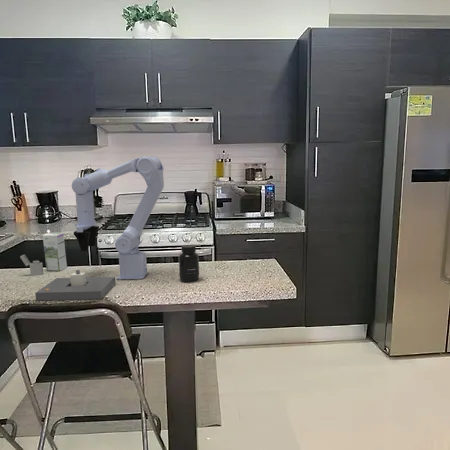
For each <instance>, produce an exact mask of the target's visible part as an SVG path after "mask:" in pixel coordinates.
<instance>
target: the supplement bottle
mask: <svg viewBox="0 0 450 450" xmlns="http://www.w3.org/2000/svg"><path fill="white" fill-rule="evenodd" d="M196 247H197V246H196V245H194V244H184V245H182V246H181V253H180V254H179V256H178V269H179V271H178V272H179V275H178V276H179V281H180V282H183V283H194V281H195V282H198V281H199V280H200V259H199V257H200V255H199V254H198V253H197V250H196V249H197V248H196ZM197 280H198V281H197Z"/></svg>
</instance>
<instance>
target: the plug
mask: <svg viewBox="0 0 450 450" xmlns="http://www.w3.org/2000/svg"><path fill="white" fill-rule="evenodd" d="M86 277H87V273H86V272H81V270H80V269H76V270H75V272H72V273H71V274H70V276H69V278H71V287H73V286H85V285H86V284H87V281H86Z"/></svg>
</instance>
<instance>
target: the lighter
mask: <svg viewBox="0 0 450 450" xmlns="http://www.w3.org/2000/svg"><path fill="white" fill-rule="evenodd" d="M19 258H20V259H21V261H22V262H23V264H24V265H25V267H28V266H29V273H30V276H31V277H32V276H33V277H34V276H43V275H44V267H43V266H44V265H43V262H40V261H39V260H33V261H32V262H30V260H29V259H28V257H27V255H26V254H22V255H20V257H19Z"/></svg>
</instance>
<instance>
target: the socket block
mask: <svg viewBox="0 0 450 450" xmlns="http://www.w3.org/2000/svg"><path fill="white" fill-rule="evenodd" d="M86 281H87V284H86V285H85V286H73V287H71V278H70V277H56V278H55V279H53V280H51V281H50V282H49V283H47V284H46V285H45V286H42V287H41V288H40V289H39V290H37V291H36V292H35V301H36V302H37V301H38V302H39V301H40V302H41V301H74V300H77V301H79V300H103V298H104V297H105V296H106V295H107V294H108V293H109V292H110V291H111V290H112V289H113V287H114V286H115V285H116V283H117V282H116V276H94V277H93V276H90V277H89V276H88V277H87V276H86Z"/></svg>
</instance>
